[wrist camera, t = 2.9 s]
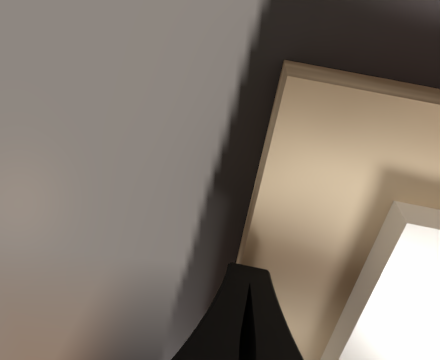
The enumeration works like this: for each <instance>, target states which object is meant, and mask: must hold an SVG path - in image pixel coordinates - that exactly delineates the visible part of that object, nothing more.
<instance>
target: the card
mask: <svg viewBox="0 0 440 360" xmlns="http://www.w3.org/2000/svg"><path fill="white" fill-rule="evenodd" d="M320 360H440V210H439V209H434V208H429V207H424V206H419V205H414V204H409V203H404V202H399V201H393V203H392V206H391V208H390V210H389V212H388V214H387V216H386V218H385V221H384V223H383V225H382V227H381V229H380V231H379V234H378V236H377V238H376V240H375V242H374V244H373V247H372V249H371V251H370V253H369V255H368V257H367V260H366V262H365V264H364V266H363V268H362V270H361V273H360V275H359V277H358V279H357V281H356V283H355V285H354V288H353V290H352V292H351V294H350V296H349V298H348V301H347V303H346V305H345V307H344V309H343V311H342V314H341V316H340V318H339V320H338V322H337V324H336V327H335V329H334V331H333V333H332V335H331V337H330V340H329V342H328V344H327V346H326V348H325V350H324V352H323V355H322V357H321V359H320Z"/></svg>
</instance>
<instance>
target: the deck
mask: <svg viewBox="0 0 440 360" xmlns="http://www.w3.org/2000/svg"><path fill="white" fill-rule="evenodd" d="M393 201H399V202H404V203H409V204H414V205H419V206H424V207H429V208H434V209H439V210H440V89H437V88H432V87H427V86H421V85H416V84H411V83H405V82H400V81H395V80H390V79H384V78H379V77H374V76H368V75H363V74H358V73H352V72H347V71H342V70H336V69H331V68H326V67H321V66H315V65H310V64H305V63H299V62H294V61H289V60H284V62H283V66H282V71H281V75H280V79H279V83H278V87H277V92H276V96H275V100H274V104H273V109H272V113H271V117H270V121H269V125H268V130H267V134H266V138H265V142H264V147H263V151H262V155H261V159H260V163H259V168H258V172H257V176H256V180H255V185H254V189H253V193H252V197H251V201H250V206H249V210H248V214H247V218H246V223H245V227H244V231H243V235H242V239H241V244H240V248H239V252H238V256H237V261H236V263H237V264H242V265H247V266H252V267H256V268H261V269H266V270H268V271H269V272H270V275H271V279H272V283H273V287H274V290H275V293H276V296H277V299H278V302H279V305H280V307H281V310H282V312H283V315H284V317H285V320H286V322H287V325H288V327H289V329H290V332H291V334H292V336H293V338H294V341H295V343H296V345H297V347H298V349H299V351H300V353H301V355H302V357H303V359H304V360H320V359H321V357H322V355H323V352H324V350H325V348H326V346H327V344H328V342H329V340H330V337H331V335H332V333H333V331H334V329H335V327H336V324H337V322H338V320H339V318H340V316H341V314H342V311H343V309H344V307H345V305H346V303H347V301H348V298H349V296H350V294H351V292H352V290H353V288H354V285H355V283H356V281H357V279H358V277H359V275H360V273H361V270H362V268H363V266H364V264H365V262H366V260H367V257H368V255H369V253H370V251H371V249H372V247H373V244H374V242H375V240H376V238H377V236H378V234H379V231H380V229H381V227H382V225H383V223H384V221H385V218H386V216H387V214H388V212H389V210H390V208H391V206H392V203H393Z"/></svg>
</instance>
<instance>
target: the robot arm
mask: <svg viewBox="0 0 440 360" xmlns="http://www.w3.org/2000/svg"><path fill="white" fill-rule="evenodd" d="M171 360H304V359H303V357H302V355H301V353H300V351H299V349H298V347H297V345H296V343H295V341H294V338H293V336H292V334H291V332H290V329H289V327H288V325H287V322H286V320H285V317H284V315H283V312H282V310H281V307H280V305H279V302H278V299H277V296H276V293H275V290H274V287H273V283H272V279H271V275H270V272H269V271H268V270H266V269H261V268H256V267H252V266H247V265H242V264H237V263H230V264H228V267H227V272H226V275H225V278H224V280H223V282H222V285H221V287H220V289H219V291H218V293H217V295H216V296H215V298H214V300H213V302H212V304H211V306H210V307H209V309H208V311H207V312H206V314H205V315H204V317H203V318H202V320H201V321H200V323H199V324H198V326H197V327H196V329H195V330H194V331H193V333H192V334H191V336H190V337H189V338H188V340H187V341H186V342H185V343H184V345H183V346H182V347H181V349H180V350H179V351H178V352H177V353H176V355H175V356H174V357H173V358H172V359H171Z"/></svg>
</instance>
